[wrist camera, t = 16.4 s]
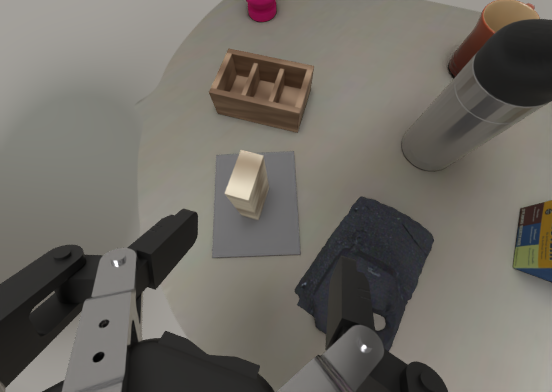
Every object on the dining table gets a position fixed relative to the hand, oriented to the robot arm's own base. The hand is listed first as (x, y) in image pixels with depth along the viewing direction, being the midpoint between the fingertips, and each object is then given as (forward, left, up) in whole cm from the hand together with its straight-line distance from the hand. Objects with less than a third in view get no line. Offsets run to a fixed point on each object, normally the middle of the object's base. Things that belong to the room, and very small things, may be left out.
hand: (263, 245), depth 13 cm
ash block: (-4, -10, -26) cm, 28 cm away
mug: (-54, -1, -27) cm, 60 cm away
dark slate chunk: (-9, +11, -27) cm, 30 cm away
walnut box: (-19, -24, -26) cm, 40 cm away
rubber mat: (-4, -10, -26) cm, 28 cm away
